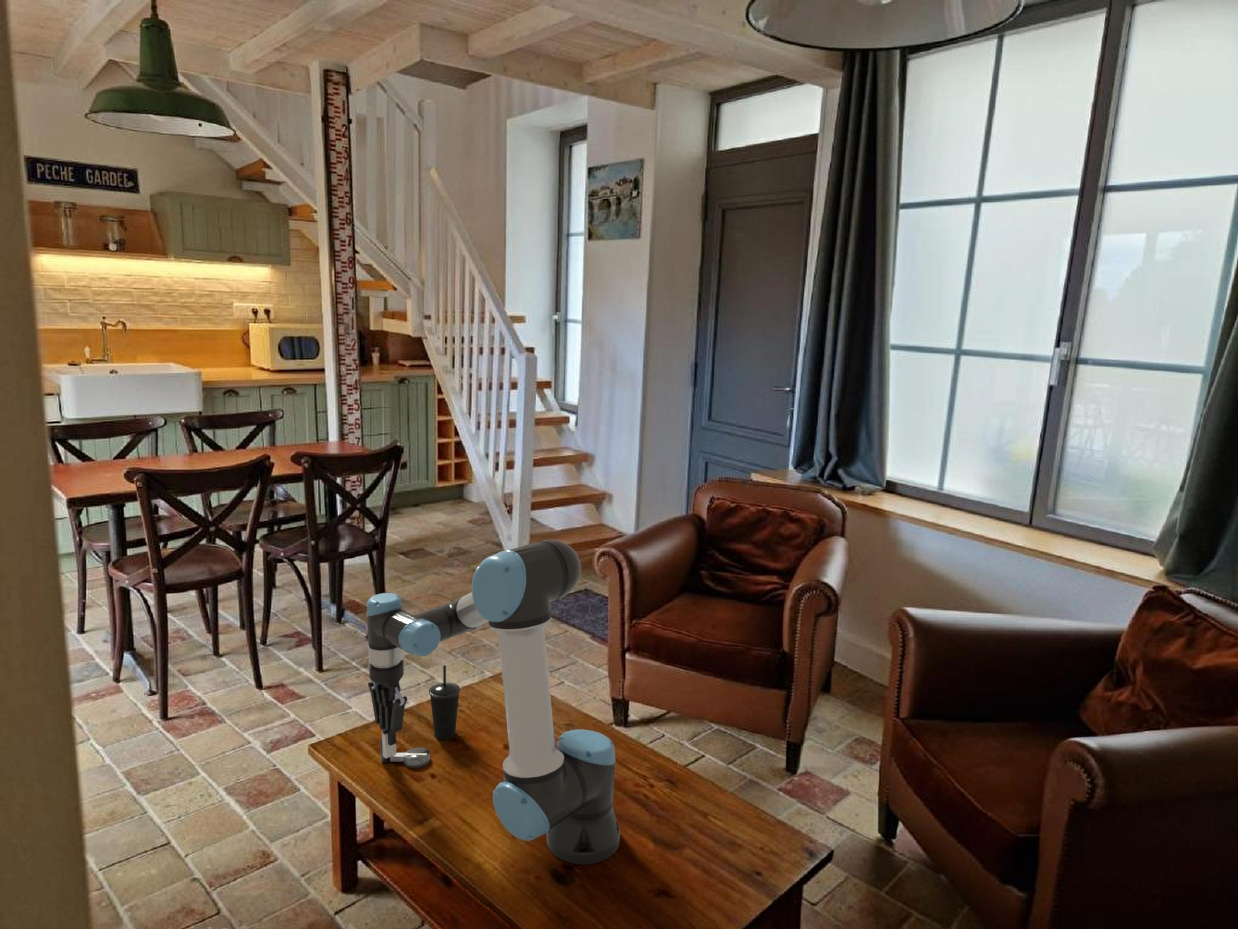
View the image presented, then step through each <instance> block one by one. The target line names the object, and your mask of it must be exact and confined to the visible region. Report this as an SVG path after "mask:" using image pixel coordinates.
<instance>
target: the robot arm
mask: <svg viewBox="0 0 1238 929" xmlns="http://www.w3.org/2000/svg"><path fill="white" fill-rule="evenodd" d="M581 575H582V563H581V561H580V558H579V556H578V554H577V552H576V551H575V549H574V548H573V547H571V546H570V545H569V544H567V543H565V542H564V541H560V540H559V539H558V540H557V539H544V540H540V541H536V542H534V543H530V544H527V545H526V544H525V545H523V546H519V547H515V548H511V549H508V550H502V551H498V552H497V553H496V554H494V555H490V556H488V557H486V558H484V559H483V560H482V561H481V562H480V563H479V565H478V566H477V567H476V569H475V571H474V573H473V577H472V580H471V592H469V593H467V594H466V595H463V596H462V597H459V598H457V599H455V600H454V601H451V602H449V603H445V604H443V605H439V606H437V607H433V608H430V609H427V610H425V611H421V612H418V613H416V614H413V613H411V612H408V611H407V610H404V609H403V602H402V598H401V596H400V595H398V594H397V593H393V592H383V593H382V592H381V593H378V594H374V595H372V596H370V598H368V600H367V601H366V614H365V615H366V626H367V627H366V628H367V629H366V630H367V631H366V632H367V642H368V643H367V644H368V645H367V647H368V648H367V650H368V670H369V671H368V673H369V674H368V676H369V679H370V681H369V682H368V683H367V686H368V690H369V692H370V697H371V702H372V704H371V705H372V708H373V714H374V721H375V723H376V725H379V729H380V730H381V738H382V745H383V757H385V758H388V757H391V756H393V755H395V754H396V753H397V732H401V731H402V730H403V722H404V717H405V716H404V714H405V709H406V704H407V702H408V697H407V695H404V696H403V695H402V693H401V685H400V681H401V679H402V678H404V677H403V676H404V674H405V671H404V670H405V669H404V667H405V666H404V660H403V658H404V652H405V653H408V654H410V655H415V656H417V657H419V658H423V657H427V656H429V655H431V654H432V652H434V651H435V650H437V648H438V647H439V644H440V643H441V642H443V641H446V640H448V639H452V638H454V637H457V636H459V635H462V634H465V633H469V632H472V631H475V630H477V629H478V628H480V627H483V624H486V623H488V627H489V628H490V629H492V630H493V631H495V632H496V633H497V636H498V645H499V654H500V667H501V668H500V669H501V677H502V687H503V697H504V708H505V718H506V728H507V729H506V730H507V740H508V748H509V750H508V751H509V755H508V756H507V757H506V758H505V759H504V760H503V763H502V771H503V781H502V782H499V783H498V785H496V786H495V788H494V790H493V791H492V802H493V803H492V804H493V809H494V810H495V811H494V812H495V813H496V816H497V817H498V820H499V821H500V824H502V825H503V827H504V828H505V829H506V830H507V832H509V833H510V834H511V835H513V836H514V837H515V838H517V839H519V840H522V841H532V840H536V839H537V838H538V837H540V836H542V835H545V834H546V844H547V848H548V849H549V851H550V852H551V854H553V855H554V856H555V857H556V858H558V859H559V860H562V861H564V862H565V863H570V864H574V865H580V866H581V865H585V866H586V865H593V864H594V865H595V864H597V863H601V862H603V861H605V860H607V859H609V858H611V857H612V856H613V855H614V854H615V853H616V852H617V850H618V848H619V846H620V838H621V836H620V835H621V832H620V831H621V829H620V825H619V822H618V820H617V817H616V813H615V809H614V806H613V805H614V790H615V789H614V786H615V782H614V781H615V770H616V769H615V766H616V763H617V761H616V760H617V758H616V751H615V749H616V748H615V745H614V743H613V741H612V740H611V739H610V738H609V737H607V736H606V735H605V734H602V733H601V732H598V731H595V730H589V729H571V730H567V731H565V732H563V733H562V734H561V735H560V736H559V737H558V739H557V744H555V732H554V731H555V730H554V722H553V720H554V718H553V710H552V700H551V699H552V698H551V688H550V676H549V665H548V654H547V653H548V652H547V643H546V634H545V632H546V631H545V627H546V626H547V625H548V624H549V623H550V621H551V620H552V607H551V603H553V602H555V601H557V600H559V599H562V598H563V597H566V596H567V595H569V594H570V593H571V592H572V591H573V590H574V589H575V588H576V586H578V583H579V581H580V579H581ZM403 651H404V652H403Z"/></svg>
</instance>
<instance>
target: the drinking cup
mask: <svg viewBox="0 0 1238 929" xmlns="http://www.w3.org/2000/svg"><path fill="white" fill-rule="evenodd" d="M442 670H443V671H442V674H443V675H442V676H443V677H442V679H443V680H442V681H443V682H439V683H436V684H433V685H432V686H430V688H429V689H428V693H429V694H428V695H429V696H430V705H431V707H430V708H431V716H432V723H433V724H432V726H433V733H434V737H435V739H436V740H439V741H448V740H451V739H453V738H454V737H455V736H456V729H457V721H458V720H457V718H458V709H459V708H458V707H459V698H460V693H461V686H460V685H459V684H456V683H454V682H447V666H446V665H445V664H444V665H442Z"/></svg>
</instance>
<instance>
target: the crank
mask: <svg viewBox="0 0 1238 929" xmlns="http://www.w3.org/2000/svg"><path fill="white" fill-rule="evenodd" d="M379 742H380V743H379V744H380V762H382V763H385V764H387V763H390V762H394V763H395V762H397V763H399V762H403V765H404V766H405V767H407V768H411V769H418V768H423V767H425V766H427V765H428V764H429V763H430V760H431V752H430V750H429V749H427V748H425V747H413V748H409V749H408V750H406V751H405V752H396V754H395V755H393V756H391V757H388V758H385V757H383V745H382V737H381V738H380V741H379Z"/></svg>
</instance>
